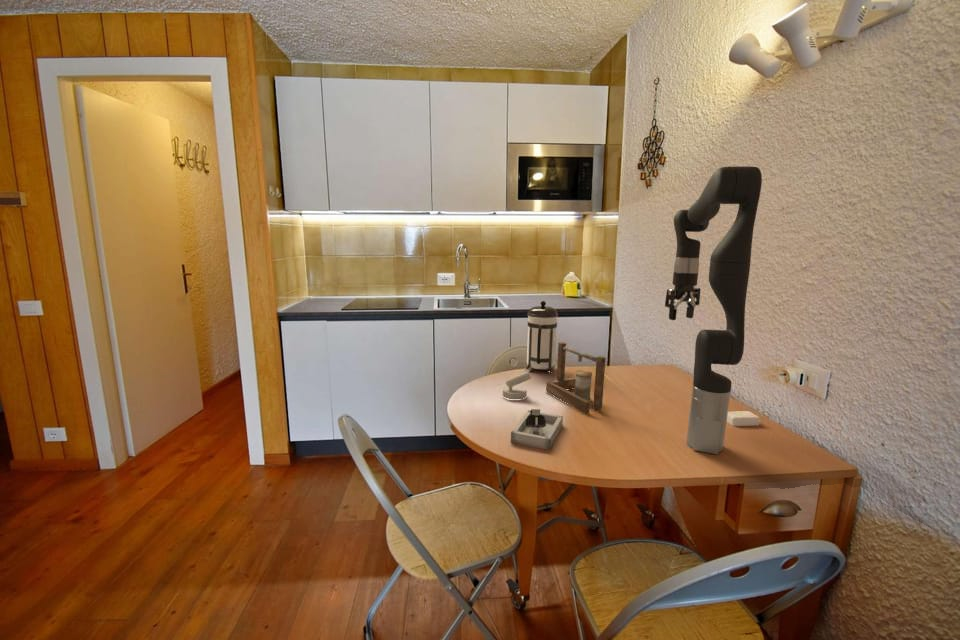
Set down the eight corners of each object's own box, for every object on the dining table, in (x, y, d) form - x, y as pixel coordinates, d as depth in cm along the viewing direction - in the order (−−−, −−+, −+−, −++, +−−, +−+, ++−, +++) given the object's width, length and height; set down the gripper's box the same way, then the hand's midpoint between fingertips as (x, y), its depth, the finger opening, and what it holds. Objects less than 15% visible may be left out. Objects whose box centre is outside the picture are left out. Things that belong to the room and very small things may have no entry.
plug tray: (548, 449, 119) (549, 439, 119) (510, 441, 124) (511, 432, 123) (562, 425, 135) (562, 416, 134) (527, 419, 139) (528, 410, 138)
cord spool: (589, 403, 153) (590, 375, 151) (572, 400, 155) (574, 373, 153) (591, 397, 158) (593, 371, 156) (575, 395, 160) (577, 369, 158)
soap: (748, 419, 142) (749, 410, 142) (760, 426, 137) (761, 417, 136) (721, 419, 142) (723, 411, 141) (732, 427, 136) (734, 418, 136)
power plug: (541, 416, 137) (546, 407, 126) (542, 441, 134) (547, 434, 123) (523, 415, 137) (526, 407, 126) (524, 440, 134) (526, 433, 123)
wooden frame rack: (576, 386, 169) (579, 340, 166) (619, 406, 150) (623, 354, 146) (545, 392, 163) (547, 344, 159) (585, 414, 143) (589, 360, 140)
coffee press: (514, 366, 193) (516, 299, 187) (544, 362, 200) (547, 297, 194) (537, 378, 178) (540, 305, 172) (568, 373, 185) (572, 303, 179)
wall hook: (533, 374, 153) (504, 374, 152) (532, 400, 154) (503, 400, 154) (529, 367, 161) (502, 367, 161) (528, 392, 163) (501, 392, 162)
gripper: (690, 269, 153) (685, 315, 156) (661, 270, 146) (657, 318, 149) (710, 271, 146) (704, 319, 149) (681, 272, 140) (675, 322, 143)
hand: (680, 318), depth 149 cm, fingers open, 8 cm apart
